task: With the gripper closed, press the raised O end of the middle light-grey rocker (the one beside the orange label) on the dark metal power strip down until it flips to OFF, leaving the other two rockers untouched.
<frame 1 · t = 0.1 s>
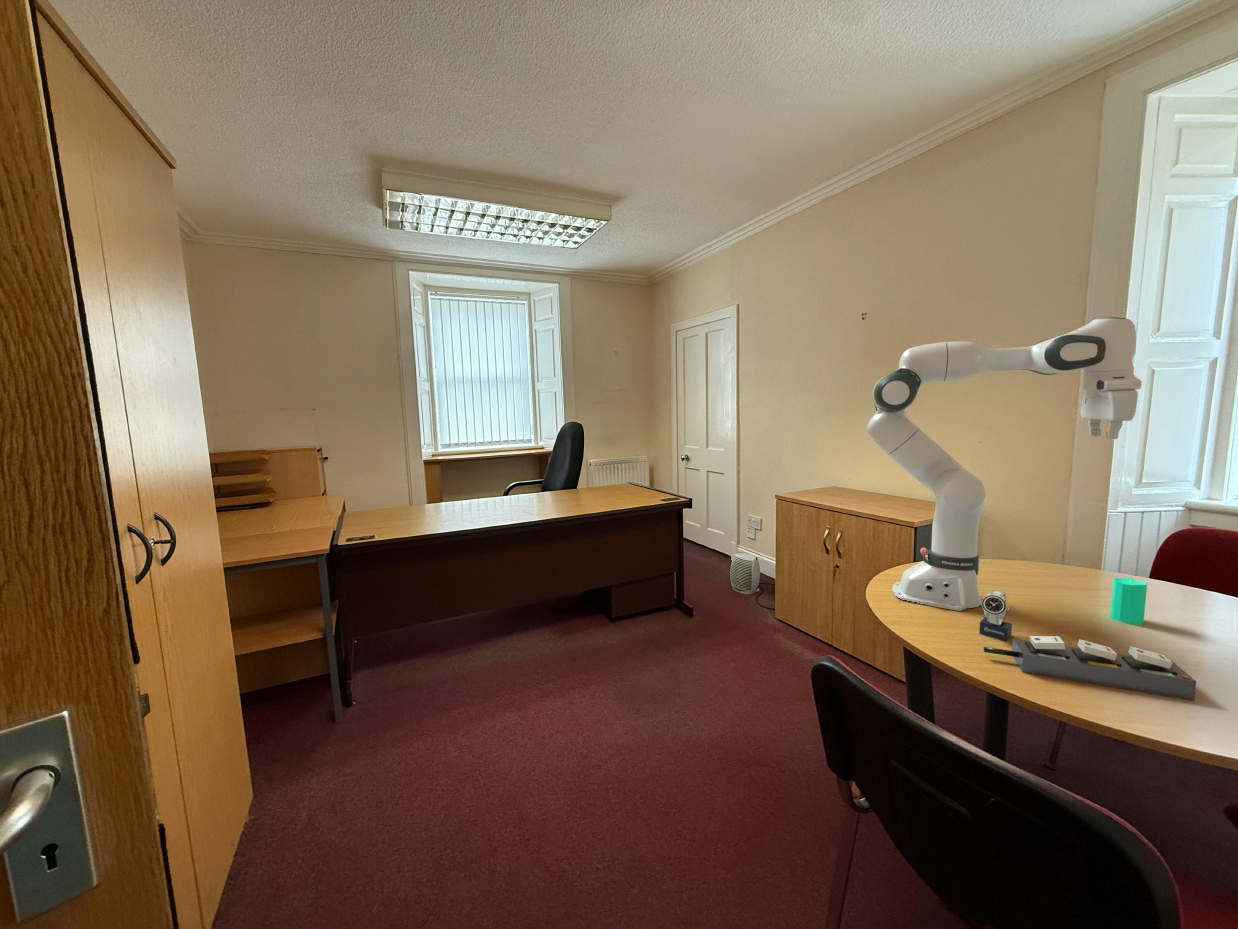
hand: (1103, 437, 122), 48 cm above the table, fingers open, 8 cm apart
rocker 1: (1047, 642, 104), point 6 cm above the table, hinge at -10.0°
strip: (1094, 675, 101), on the table
rocker 3: (1149, 657, 97), point 6 cm above the table, hinge at 10.0°
watch: (995, 635, 120), on the table
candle: (1126, 620, 125), on the table
rocker 2: (1096, 649, 100), point 6 cm above the table, hinge at 10.0°
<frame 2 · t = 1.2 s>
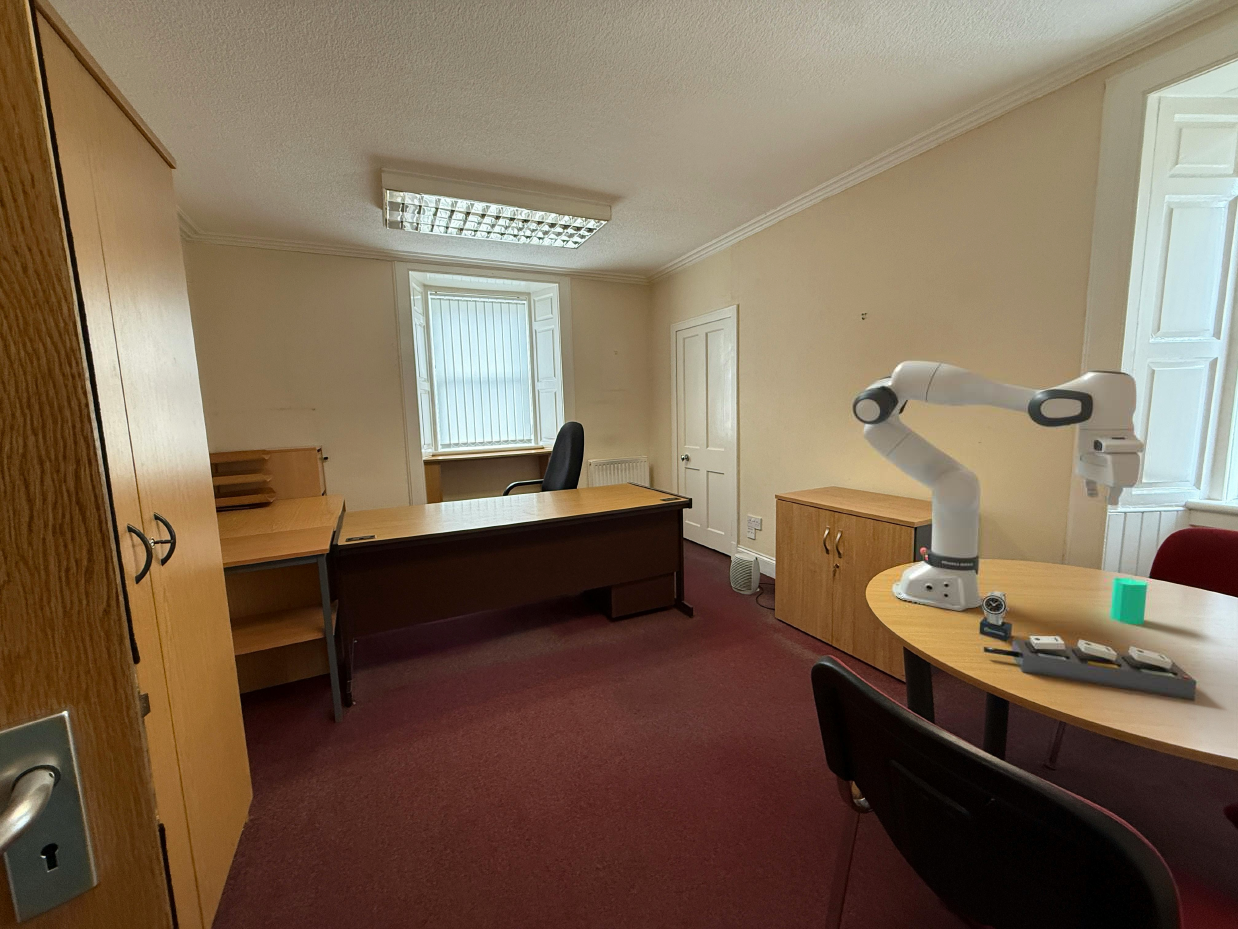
hand: (1101, 500, 111), 34 cm above the table, fingers open, 8 cm apart
nothing on the table moved.
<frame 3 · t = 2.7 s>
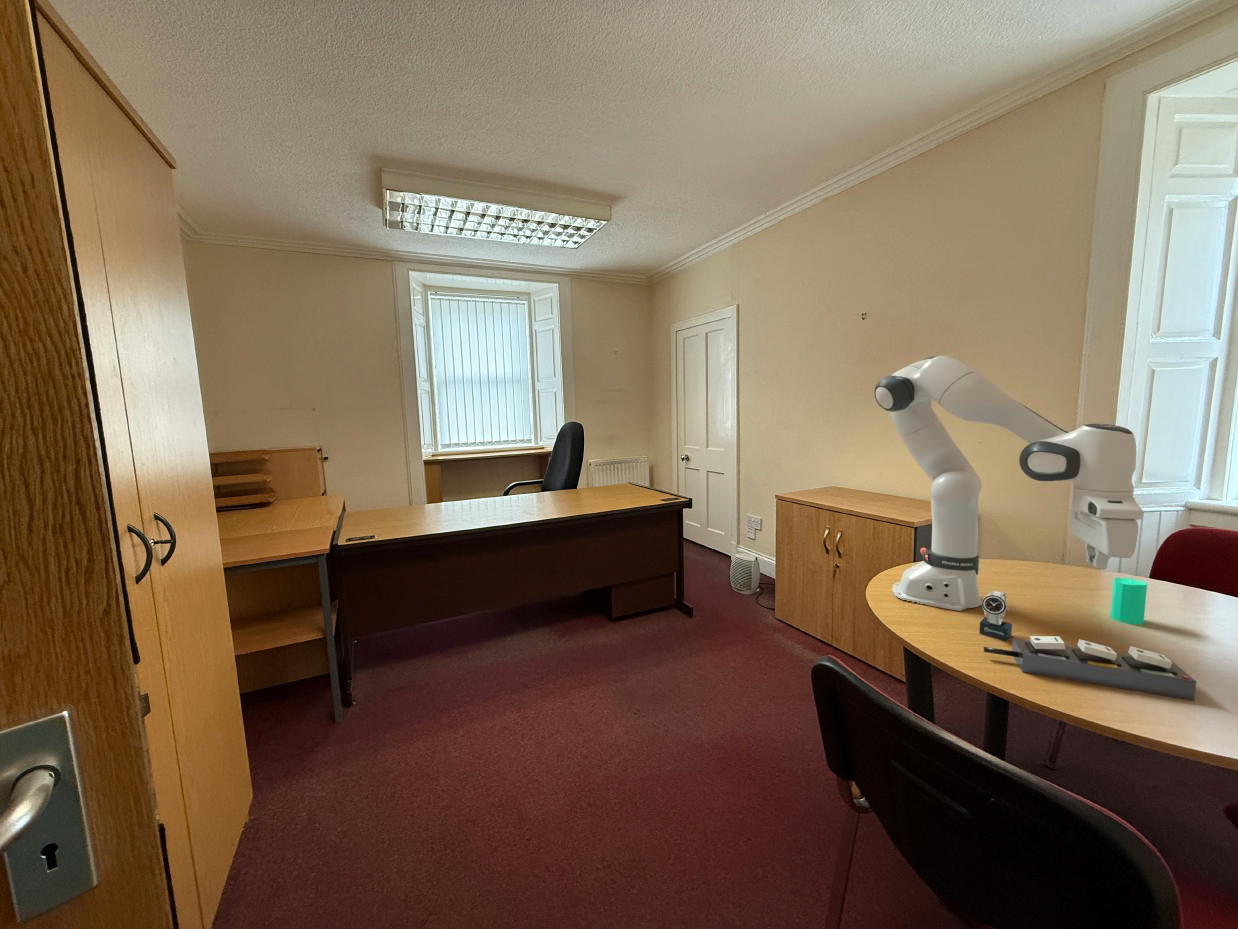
hand: (1096, 565, 101), 23 cm above the table, fingers closed
nothing on the table moved.
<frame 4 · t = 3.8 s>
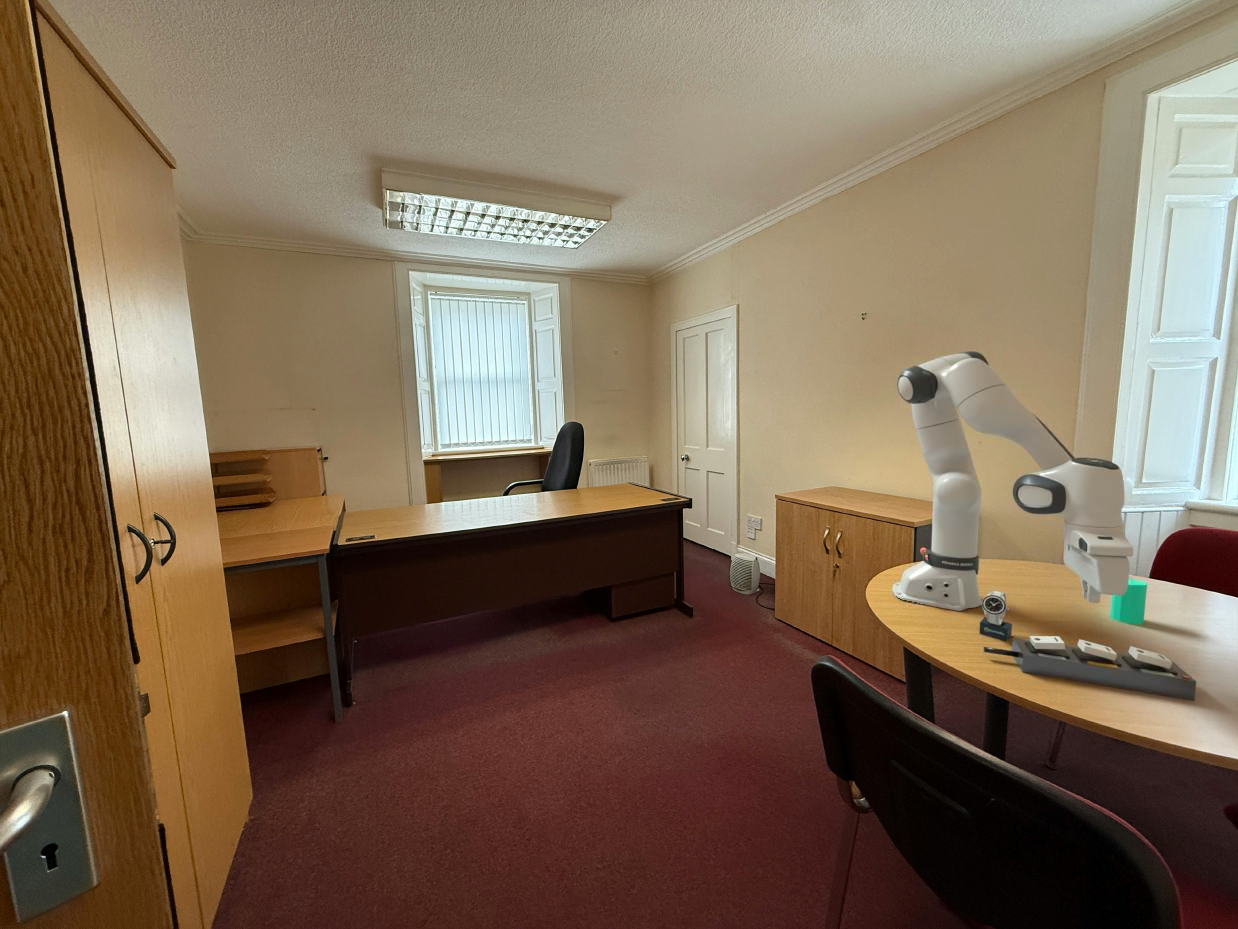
hand: (1091, 600, 100), 16 cm above the table, fingers closed
nothing on the table moved.
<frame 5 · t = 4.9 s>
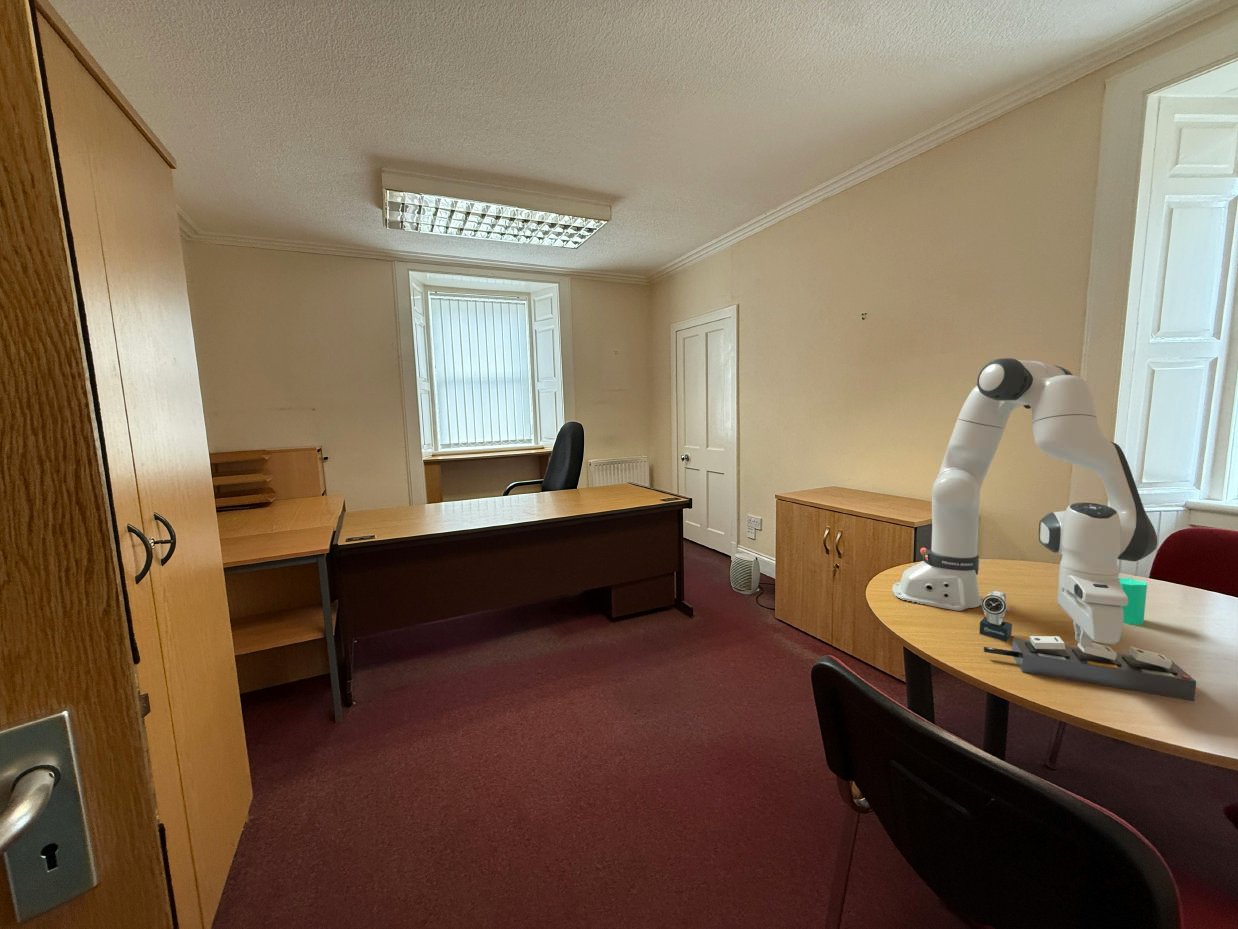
hand: (1083, 644, 101), 7 cm above the table, fingers closed, pressing on rocker 2
rocker 2: (1096, 649, 100), point 6 cm above the table, hinge at 8.3°, touching gripper
everything else where it was.
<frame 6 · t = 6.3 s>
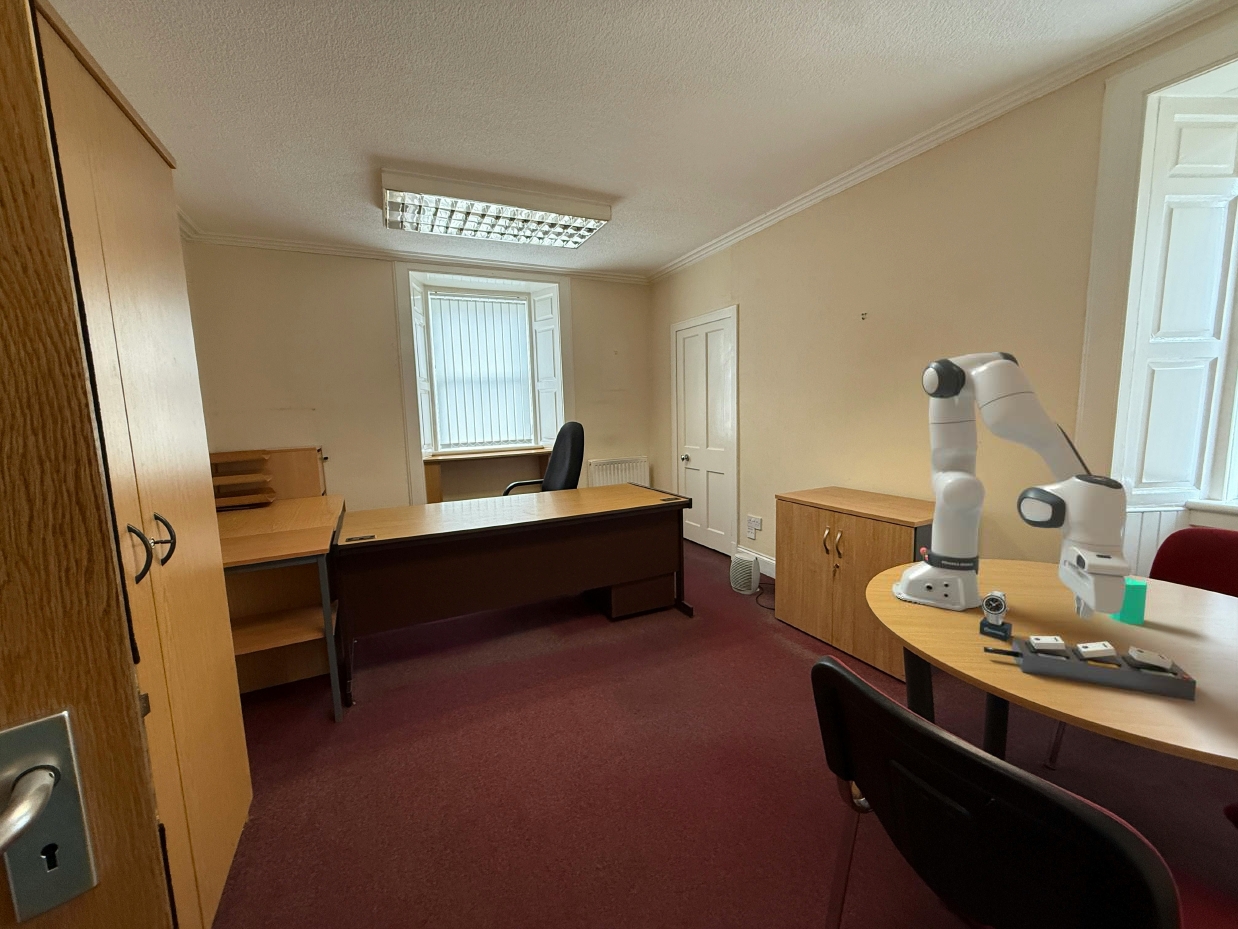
hand: (1083, 616, 101), 13 cm above the table, fingers closed
rocker 2: (1096, 649, 100), point 6 cm above the table, hinge at -18.8°
everything else where it was.
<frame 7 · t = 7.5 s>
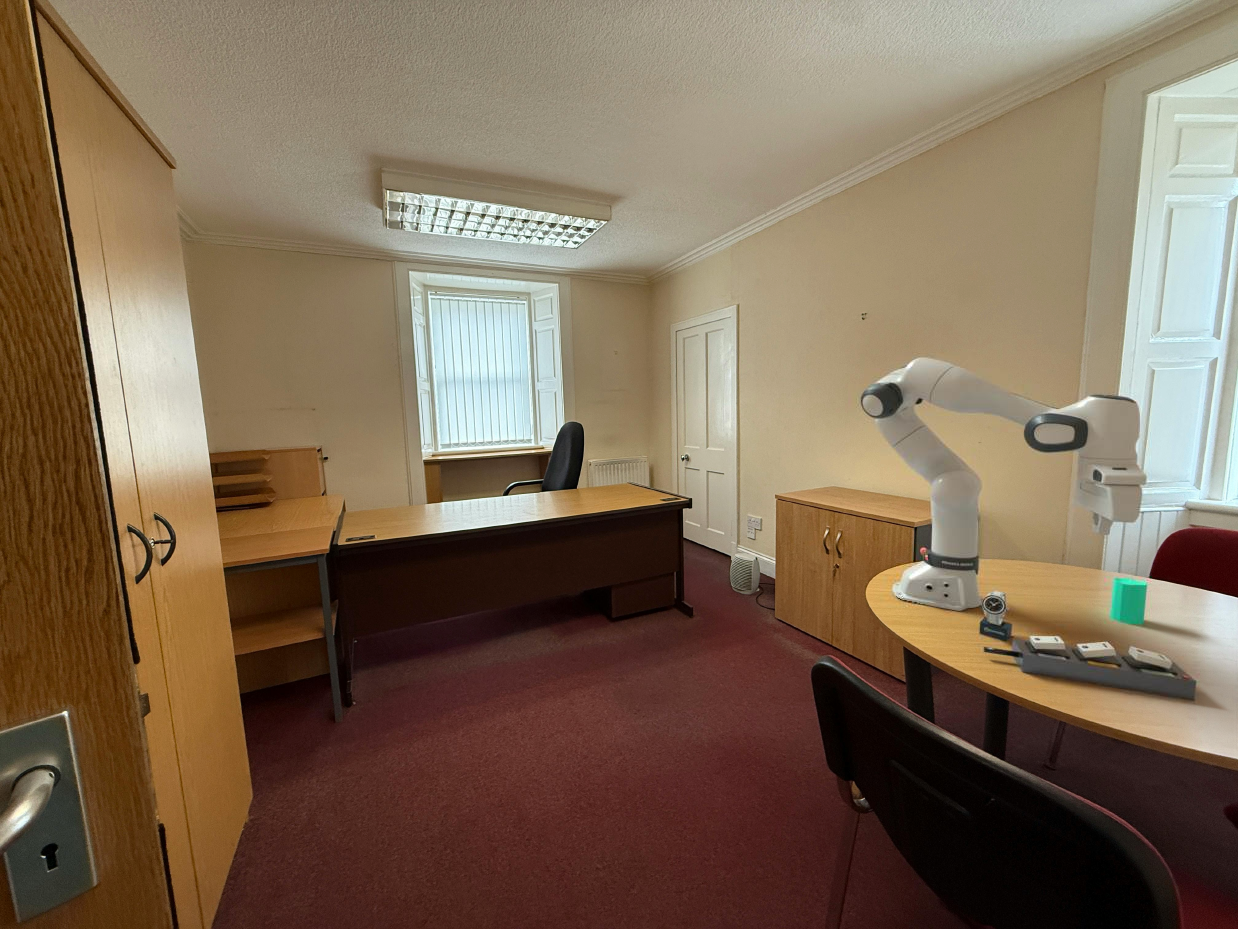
hand: (1100, 533, 104), 29 cm above the table, fingers closed
rocker 2: (1096, 649, 100), point 6 cm above the table, hinge at -17.8°
everything else where it was.
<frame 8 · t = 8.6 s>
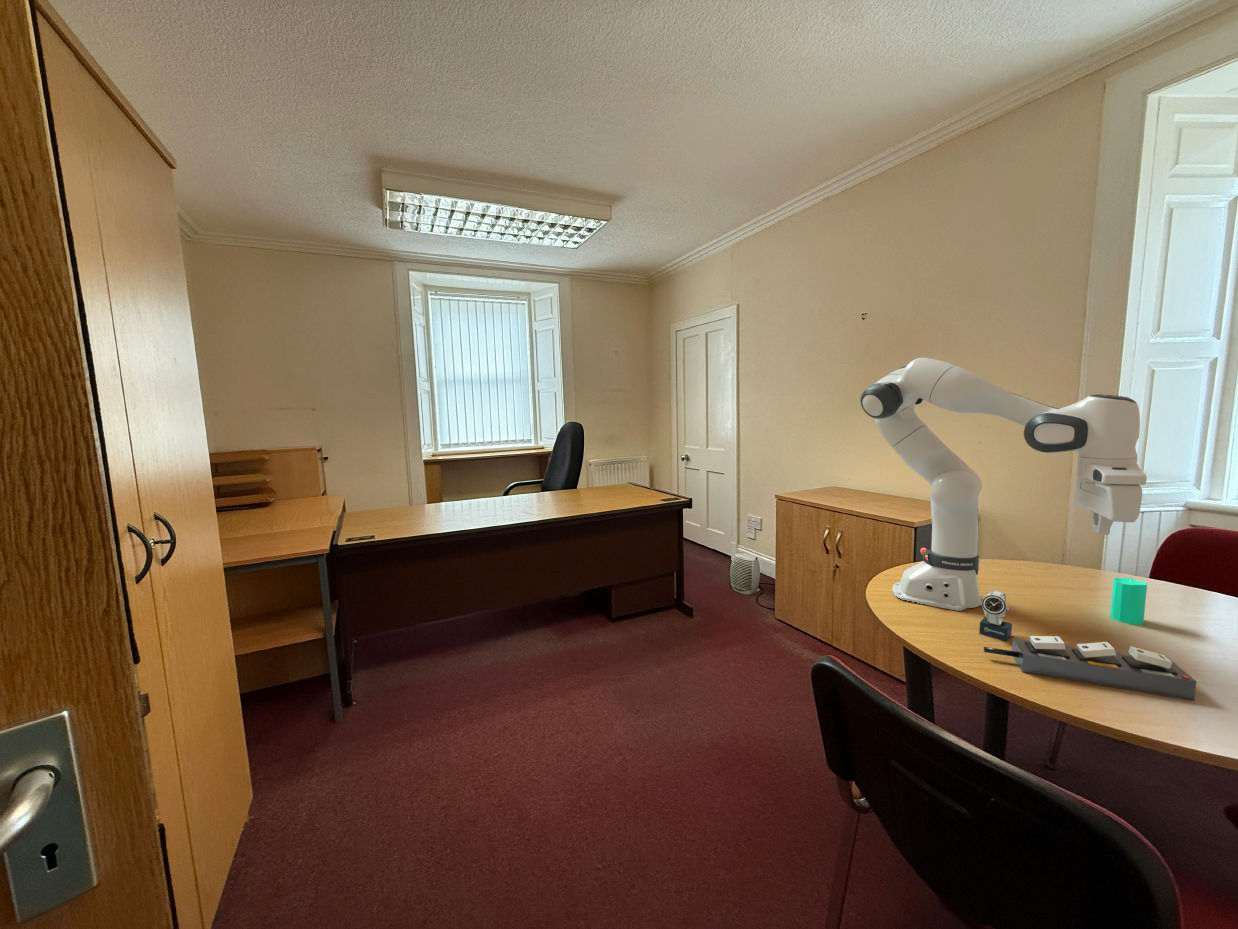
hand: (1100, 533, 104), 29 cm above the table, fingers closed
nothing on the table moved.
at the end: rocker 2 at -18° (first picture: +10°); rocker 1 at -10° (first picture: -10°); rocker 3 at +10° (first picture: +10°) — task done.
